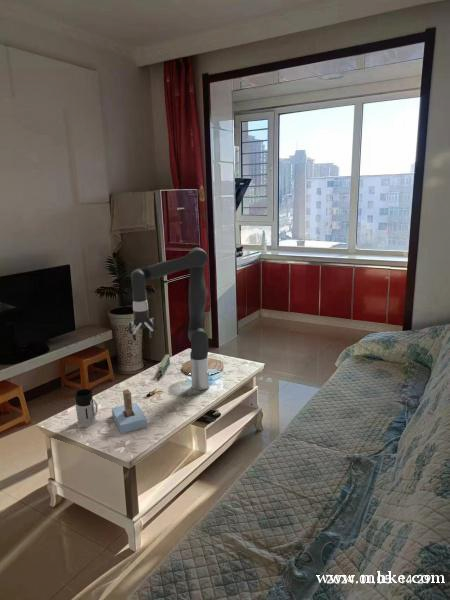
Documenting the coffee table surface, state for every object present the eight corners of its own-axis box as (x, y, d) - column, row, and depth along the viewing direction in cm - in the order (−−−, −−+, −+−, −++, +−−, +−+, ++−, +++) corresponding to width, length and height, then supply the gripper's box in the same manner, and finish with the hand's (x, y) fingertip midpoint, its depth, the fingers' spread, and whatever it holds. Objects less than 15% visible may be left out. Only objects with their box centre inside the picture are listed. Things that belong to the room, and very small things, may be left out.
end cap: (137, 409, 212) (136, 402, 211) (147, 426, 197) (146, 418, 196) (112, 415, 207) (111, 408, 206) (121, 433, 192) (120, 425, 191)
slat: (130, 416, 204) (128, 389, 201) (133, 420, 200) (130, 392, 197) (125, 417, 203) (122, 390, 200) (127, 421, 199) (125, 394, 196)
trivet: (177, 376, 251) (177, 373, 250) (187, 360, 275) (187, 357, 274) (219, 377, 247) (219, 374, 246) (226, 361, 271) (226, 358, 270)
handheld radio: (171, 364, 269) (161, 381, 245) (165, 364, 269) (156, 381, 245) (170, 354, 267) (160, 370, 243) (164, 354, 267) (154, 370, 243)
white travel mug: (89, 415, 209) (86, 386, 205) (107, 424, 200) (104, 394, 196) (73, 422, 202) (69, 393, 198) (90, 432, 193) (87, 402, 190)
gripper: (128, 312, 213) (131, 343, 217) (156, 308, 219) (158, 338, 223) (125, 309, 219) (127, 339, 223) (152, 305, 225) (154, 334, 229)
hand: (143, 339), depth 223 cm, fingers open, 8 cm apart
